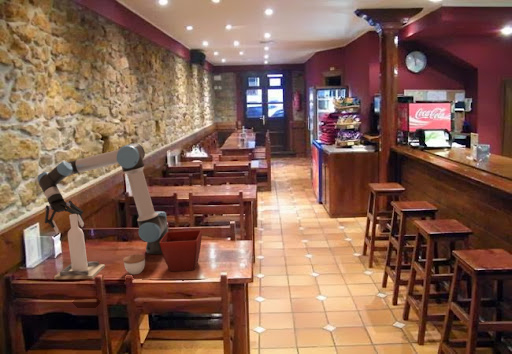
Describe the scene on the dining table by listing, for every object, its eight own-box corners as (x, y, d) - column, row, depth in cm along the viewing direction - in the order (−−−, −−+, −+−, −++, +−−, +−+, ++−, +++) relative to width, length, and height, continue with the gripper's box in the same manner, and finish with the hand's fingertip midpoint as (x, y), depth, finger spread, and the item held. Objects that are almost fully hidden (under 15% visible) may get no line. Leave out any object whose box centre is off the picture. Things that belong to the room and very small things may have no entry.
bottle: (91, 267, 252) (84, 212, 247) (81, 273, 245) (74, 216, 240) (78, 266, 255) (71, 212, 250) (68, 272, 248) (61, 216, 242)
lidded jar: (127, 269, 252) (125, 252, 250) (147, 267, 252) (145, 250, 251) (123, 277, 241) (121, 259, 239) (144, 275, 242) (142, 257, 240)
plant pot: (169, 261, 260) (166, 231, 257) (204, 259, 260) (202, 229, 257) (161, 274, 241) (158, 242, 239) (199, 272, 241) (196, 240, 238)
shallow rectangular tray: (104, 266, 257) (104, 260, 257) (92, 278, 241) (91, 271, 241) (69, 267, 259) (68, 261, 258) (54, 279, 243) (53, 272, 243)
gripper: (75, 197, 267) (91, 227, 259) (29, 206, 250) (45, 238, 242) (78, 188, 263) (94, 218, 255) (31, 197, 245) (48, 230, 237)
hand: (70, 228), depth 248 cm, fingers open, 13 cm apart
